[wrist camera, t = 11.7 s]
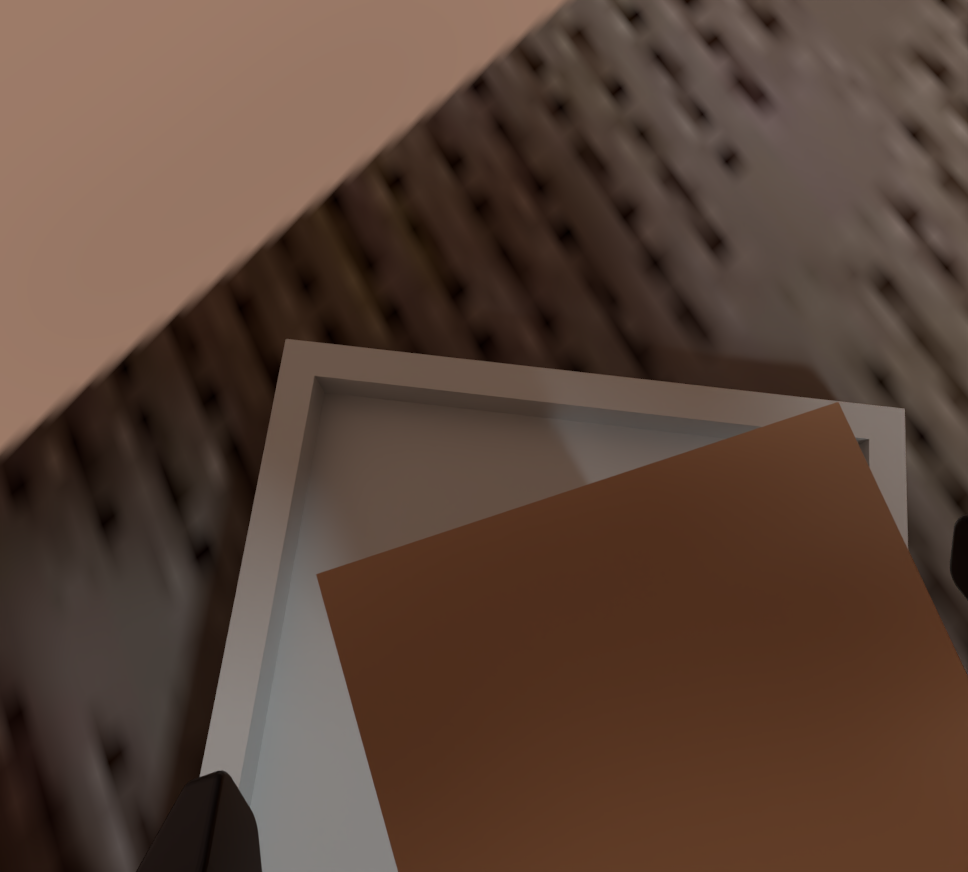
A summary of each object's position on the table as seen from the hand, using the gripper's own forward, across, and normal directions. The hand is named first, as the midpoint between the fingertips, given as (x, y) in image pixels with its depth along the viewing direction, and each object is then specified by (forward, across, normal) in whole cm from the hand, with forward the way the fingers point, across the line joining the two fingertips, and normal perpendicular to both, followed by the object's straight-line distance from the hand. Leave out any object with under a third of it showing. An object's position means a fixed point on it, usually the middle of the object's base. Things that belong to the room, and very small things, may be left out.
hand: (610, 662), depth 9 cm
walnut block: (+5, 0, +6) cm, 8 cm away
